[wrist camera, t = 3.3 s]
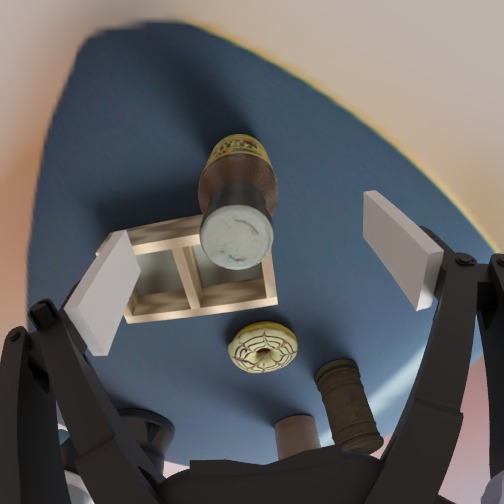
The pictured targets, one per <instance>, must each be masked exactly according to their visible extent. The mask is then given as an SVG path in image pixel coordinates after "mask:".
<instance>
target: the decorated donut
mask: <svg viewBox="0 0 504 504" xmlns="http://www.w3.org/2000/svg"><path fill="white" fill-rule="evenodd" d="M261 348H264V349H261ZM297 349H298V348H297V340H296V337H295V335H294V334H293V333H292V332H291V331H290V330H289V329H288V328H286V327H284V326H283V325H281V324H279V323H275V322H269V321H263V322H257V323H253V324H250V325H248V326H246V327H244V328H243V329H241V330H240V331H239V332H238V333H237V335H236V336H235V337H234V339H233V341H232V342H231V343H230V344H229V345H228V352H229V355H230V357H231V359H232V361H233V362H234V363H235V364H236V365H237V366H238V367H239V368H241V369H243V370H245V371H247V372H250V373H263V372H271V371H275V370H277V369H279V368H282V367H284V366H286V365H287V364H288V363H290V362H291V361H292V360H293V359H294V358H295V356H296V354H297Z"/></svg>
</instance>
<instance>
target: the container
mask: <svg viewBox="0 0 504 504" xmlns="http://www.w3.org/2000/svg"><path fill="white" fill-rule="evenodd" d="M360 376H361V375H360V372H359V368H358V366H357V364H356V363H355V362H354V361H352V360H348V359H340V360H335V361H331V362H329V363H327V364H325V365H324V366H322V367H321V368H320V369H319V370H318V371H317V373H316V375H315V383H316V385H317V389H318V391H319V392H320V393H321V395H322V401H323V403H324V405H325V408H326V412H327V416H328V420H329V425H330V428H331V432H332V439H333V440H334V443H335V445H336V444H341V448H342V451H350V452H358V453H363V454H367V455H370V454H372V453H374V452H375V451H377V450H378V449H380V448H381V447H382V445H383V443H384V439H383V437H381V436H380V433H379V432H378V431H377V427H376V422H375V421H374V418H373V415H372V412H371V409H370V407H369V404H368V401H367V398H366V396H365V393H364V387H363V385H362V383H361V380H360Z"/></svg>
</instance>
